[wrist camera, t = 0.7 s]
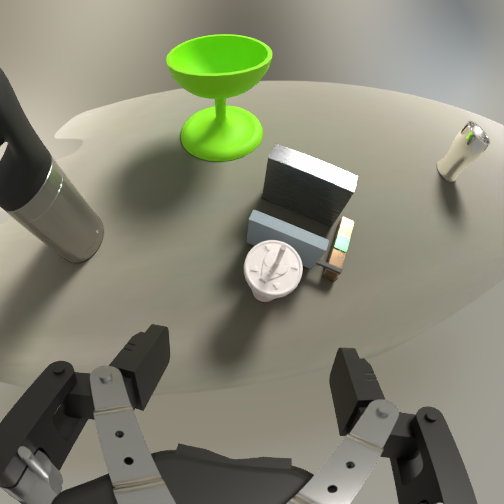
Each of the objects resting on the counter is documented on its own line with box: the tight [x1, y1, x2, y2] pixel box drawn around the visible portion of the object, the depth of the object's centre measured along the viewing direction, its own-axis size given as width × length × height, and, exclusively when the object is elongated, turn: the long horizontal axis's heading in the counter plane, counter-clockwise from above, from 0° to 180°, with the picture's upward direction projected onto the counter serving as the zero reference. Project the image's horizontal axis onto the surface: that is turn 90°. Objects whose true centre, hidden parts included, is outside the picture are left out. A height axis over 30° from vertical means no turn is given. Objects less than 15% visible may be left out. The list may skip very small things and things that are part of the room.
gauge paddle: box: [247, 209, 342, 274], centre depth 36 cm, size 14×2×7 cm, turn 67°
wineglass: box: [166, 34, 272, 162], centre depth 41 cm, size 16×16×18 cm
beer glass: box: [437, 121, 490, 182], centre depth 43 cm, size 7×7×15 cm
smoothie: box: [244, 240, 303, 302], centre depth 32 cm, size 6×6×14 cm
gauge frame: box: [262, 144, 358, 281], centre depth 37 cm, size 15×12×10 cm
